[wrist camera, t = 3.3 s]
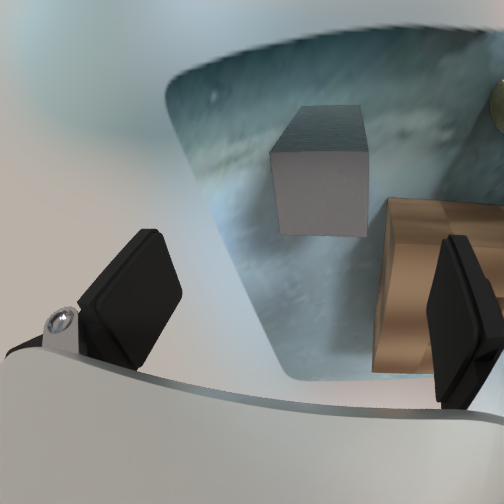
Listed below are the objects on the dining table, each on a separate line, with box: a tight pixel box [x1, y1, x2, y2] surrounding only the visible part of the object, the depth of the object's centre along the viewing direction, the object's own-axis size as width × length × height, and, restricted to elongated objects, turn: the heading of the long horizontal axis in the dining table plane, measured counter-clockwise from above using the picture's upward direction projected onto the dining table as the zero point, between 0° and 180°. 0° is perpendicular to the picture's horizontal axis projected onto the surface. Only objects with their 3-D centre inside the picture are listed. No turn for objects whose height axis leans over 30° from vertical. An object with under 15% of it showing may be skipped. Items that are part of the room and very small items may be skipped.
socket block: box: [372, 198, 504, 374], centre depth 22 cm, size 14×14×6 cm
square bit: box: [269, 105, 369, 237], centre depth 17 cm, size 4×4×10 cm
